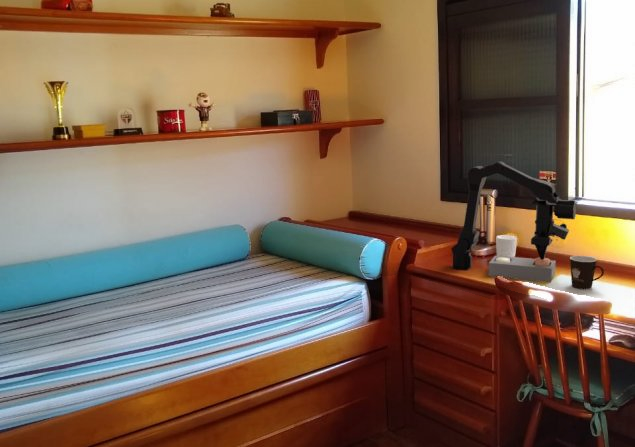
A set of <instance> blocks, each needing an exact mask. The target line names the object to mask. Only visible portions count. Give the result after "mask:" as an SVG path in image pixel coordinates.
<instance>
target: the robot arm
mask: <svg viewBox="0 0 635 447" xmlns="http://www.w3.org/2000/svg"><path fill="white" fill-rule="evenodd" d="M495 174H499V175H500V176H502V177H505V178H506V179H509V180H511V181H512V182H514V183H517V184H519V185H521V186H523V187H524V188H526V189H528V191H529V192H531V193H532V194H533V195H534V196H535V198H534V200H533V201H531V202H530V205H532V206H536V207H535V208H536V210H535V211H536V212H535V221H534V224H535V231H534V235H533V236H532V237H531V238H530V245H532V246H535V249H536V251H537V254H538V256H539V258H540V259H544V258H546V257H545V256H546V253H547V249H548V247H549V246H550V245H551V244H552V242H553V239H552V238H553V237H557V238H560V239H562V240H563V241H564V240H566V238H567V236H568V234H569V232H570V229H569V228H568V227H567V226H568V225H567V224H566V223H561V224H560V225H559V224H556V223H555V220H554V219H553V218H554V216H555V217H556V218H557V219H560V220H561V219H562V220H575V219H576V215H577V214H576V213H577V208H576V206H577V205H576V200H575V199H569V200H568V199H561V197H560V196H559V194H558V193H557V192H556V186H555V185H554V183H552V182H550V181H547V180H543V179H539V178H535V177H532V176H530V175H528V174H526V173H525V172H522V171H520V170H518V169H516V168H515V167H512V166H510V165H509V164H506V163H505V162H504V161H497V162H495V163H493V164H489V165H486V166H481V165H477V166H475V167H472V168H470V169H469V170H468V172H467V186H468V195H467V196H468V197H467V203H466V208H465V209H466V210H465V215H464V216H465V217H464V224H463V227H462V229H461V231H460V233H459V235H458V239H457V243H456V244H455V245H454V246H453V247H452V248H450V249H451V252H452V266H451V269H456V270H465V271H468V270H470V268H472V266H473V255H471V254H472V252H471V251H472V248H473V247H474V246H476V244H477V243H478V242H479V236H480V233H481V232H480V230H479V231H478V230H477V229H476V225H477V219H478V211H479V205H480V198H481V194H482V193H481V192H482V189H483V188H484V185H485V183H486V180H487V177H490V176H493V175H495ZM551 237H552V238H551Z"/></svg>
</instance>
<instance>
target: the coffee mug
mask: <svg viewBox="0 0 635 447" xmlns="http://www.w3.org/2000/svg"><path fill="white" fill-rule="evenodd" d="M569 262H570V277H571V280H570V281H571V287H572V288H573V289H576V290H591V289H592V288H593V282H595V281H597V280H600V278H602V277H603V276H604V273H605V271H604V268H603V267H602V266H601V265H597V262H598V259H597V258H596V257H592V256H587V255H573V256H570V257H569ZM597 268H599V269H600V270H601V274H600V275H599V276H597V277H595V273H596V272H595V271H596V269H597ZM594 277H595V278H594Z"/></svg>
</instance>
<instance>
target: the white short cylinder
mask: <svg viewBox="0 0 635 447" xmlns="http://www.w3.org/2000/svg"><path fill="white" fill-rule="evenodd" d="M496 261H497V262H508V263H510V259H509V258H505V257H499V258H496Z"/></svg>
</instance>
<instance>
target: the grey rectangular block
mask: <svg viewBox="0 0 635 447" xmlns="http://www.w3.org/2000/svg"><path fill="white" fill-rule="evenodd" d="M499 257H505V258H509V259H510V263H508V262H497V261H496V258H499ZM555 275H556V260H553V259H550V263H549V266H541V265H535V258H530V257H529V258H527V257H517V256H515V257H507V256H497V254H496V255H494V256H493V257H492V258H491V260H490V261H489V262H488V277H495V276H503V277H502V278H507V279H515V278H516V280H517V279H518V280H525V281H526V280H527V281H536V282H544V283H547V282H548V283H552V281H553V279H554V277H555Z"/></svg>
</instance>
